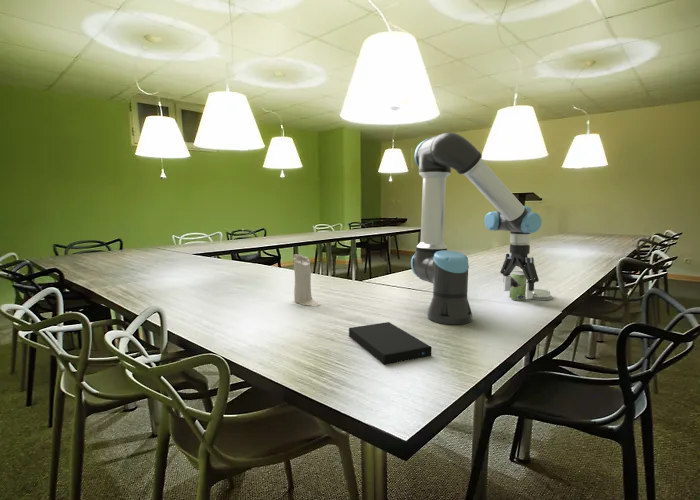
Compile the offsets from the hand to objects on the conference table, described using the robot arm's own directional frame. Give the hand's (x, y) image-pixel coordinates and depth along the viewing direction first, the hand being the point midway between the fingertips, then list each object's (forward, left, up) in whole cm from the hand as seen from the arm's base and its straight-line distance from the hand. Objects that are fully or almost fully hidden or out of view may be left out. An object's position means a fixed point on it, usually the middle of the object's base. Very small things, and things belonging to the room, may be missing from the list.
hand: (517, 294), depth 159 cm
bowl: (+11, +2, -2) cm, 11 cm away
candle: (-85, +21, -2) cm, 88 cm away
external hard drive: (-70, -33, -3) cm, 77 cm away
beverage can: (0, 0, -2) cm, 2 cm away
